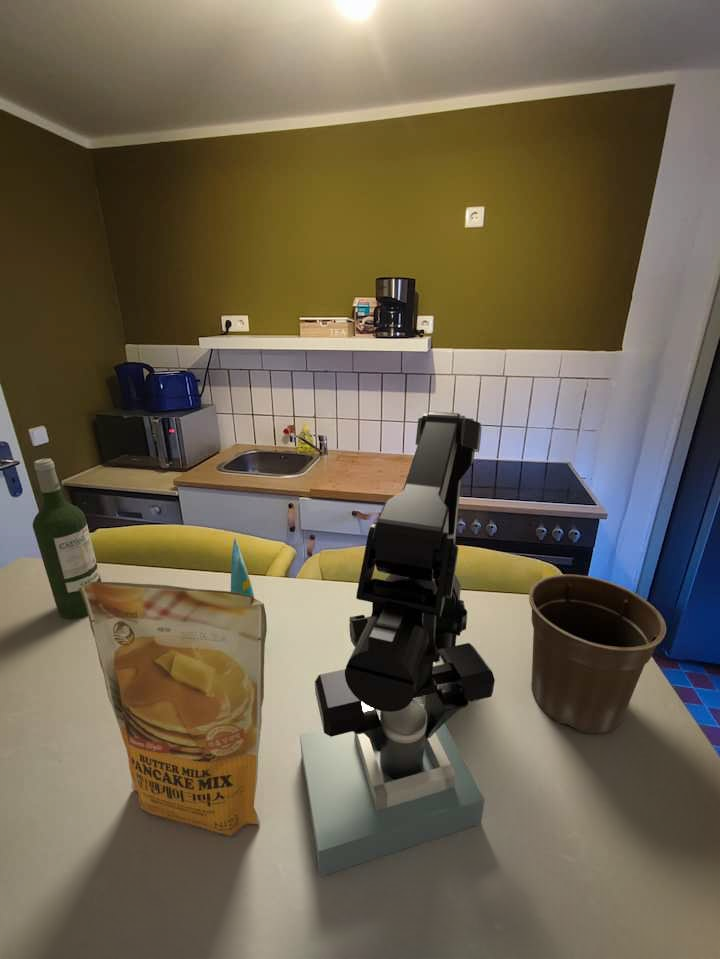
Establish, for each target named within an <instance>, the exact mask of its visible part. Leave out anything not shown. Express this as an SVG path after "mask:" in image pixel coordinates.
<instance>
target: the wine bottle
mask: <svg viewBox="0 0 720 959" xmlns="http://www.w3.org/2000/svg"><path fill="white" fill-rule="evenodd" d="M33 466H34V467H33V468H34V469H35V471H36V476H37V479H38V485H39V487H40V493H41V496H42V501H43V506H42V508H41V509H40V510H39V511H38V512H37V514H36V515H35V516H34V518H33V521H32V529H33V532H34V536H35V538H36V542H37V546H38V549H39V553H40V556H41V559H42V563H43V566H44V569H45V573H46V576H47V579H48V583H49V586H50V590H51V593H52V596H53V600H54V603H55V606H56V609H57V613H58V614H59V616H60V617H62V618H64V619H71V620H72V619H79V618H84V617H86V616H88V613H87V609H86V605H85V602H84V600H83V597H82V595H81V592H80V591H79V590H78V589H79V588H81V587H83V586H85V585H87V584H89V583H91V582H102V579H101V575H100V571H99V567H98V563H97V559H96V555H95V550H94V547H93V543H92V539H91V535H90V531H89V527H88V523H87V519H86V515H85V513H84V512H83V511H82V510H81V509H80V508H79V507H78V506H76V505H73V504H72V503H69V502H67V501H66V499H65V498H64V494H63V492H62V488H61V484H60V482H59V479H58V476H57V472H56V468H55V463H54V461H53V460H52V458H42V459H41V458H40V459H38V460H35V461H34V464H33Z"/></svg>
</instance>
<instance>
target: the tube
mask: <svg viewBox="0 0 720 959" xmlns="http://www.w3.org/2000/svg"><path fill="white" fill-rule="evenodd" d="M230 568H231V570H230V592H238V593H241V594H245V595H249V596H252V597H253V598H255V596H254V591H253V590H254V589H253V587H252V584H251V578H250V575H249V572H248V569H247V566H246V563H245V561H244V558H243V554H242V552H241V550H240V546H239V543H238V540H237V539H236V536H234V539H233V545H232V551H231V566H230Z"/></svg>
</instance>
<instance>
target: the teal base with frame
mask: <svg viewBox="0 0 720 959" xmlns="http://www.w3.org/2000/svg"><path fill="white" fill-rule="evenodd" d="M424 704H425V703H424ZM424 704H421V705H422V706H423V707H424ZM378 716H379V719H380V714H378ZM445 723H446V722H445ZM445 723H444V724H443V725H442V726H441V727H440V728H439V729H438V730H437V731H436V732H435V733H434V734H433V735H432V736H431V737H430V738H428V739H427V738H426V737H425V742H424V755H423V766H422V770H421V772H420V773H419V774H415V775H412V776H408V777H404V778H401V779H397V780H394V779H392V778H390V777H389V776H388V775H387V774H386V773H385V772H384V771H383V769H382V767H381V764H380V751H379V752H377V750H376V748H375V746H374V744H373V743H372V741H371V740H370V739H369V738H368V737H367V736H366V735H365V734H364V733H363V734H355V733H354V732H353V731H352V732H348V733H344V734H340V735H336V736H332V737H330V736H328V735H327V734H325V733H324V730H323V728H320V729H317V730H313V731H309V732H304V733H301V734H299V742H300V752H301V753H300V754H301V763H302V768H303V769H302V770H303V775H304V776H303V777H304V782H305V788H306V795H307V801H308V808H309V814H310V821H311V828H312V834H313V835H312V836H313V840H314V846H315V855H316V861H317V867H318V874H319V878H322V877H324V876H328V875H330V874H334V873H336V872H339V871H344V870H346V869H349V868H352V867H355V866H357V865H361V864H364V863H367V862H369V861H373V860H377V859H379V858H382V857H385V856H389V855H392V854H394V853H398V852H401V851H403V850H407V849H409V848H412V847H416V846H419V845H421V844H424V843H427V842H431V841H433V840H436V839H440V838H443V837H446V836H448V835H452V834H454V833H457V832H461V831H464V830H467V829H471V828H473V827H476V826H479V825H481V824H482V819H483V818H482V817H483V813H484V812H483V811H484V804H485V798H484V796H483V794H482V792H481V791H480V790H481V789H480V788H479V786H478V785H477V783H476V781H475V779H474V777H473V775H472V774H471V771H470V770H469V767H468V765H467V764H466V762H465V760H464V757H463V755H462V754H461V752H460V750H459V748H458V746H457V745H456V743H455V741H454V739H453V737H452V735H451V733H450V731H449V729H448V728H447V725H446V724H445Z"/></svg>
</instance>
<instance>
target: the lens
mask: <svg viewBox="0 0 720 959" xmlns="http://www.w3.org/2000/svg"><path fill="white" fill-rule="evenodd" d="M422 705H423V704H422V703H420V702H419V701H418V700H417V699H416V698H413V700H412V701H411V703H410V704H409V705H408V706H407V707H405V708H404V709H402V710H399V711H394V712H386V711H380V710H379V711H380V713H379V715H380V722H381V724H382V748H381V751H380V764H381V767H382V769H383V771H384V772H385V773H386V774H387V775H388V776H389V777H390V778H392V779H394V780H397V779H401V778H404V777H408V776H412V775H415V774H419V773H420V772H421V770H422V766H423V755H424V742H425V731H426V727H427V714H426V711H425V709H424V707H423V706H422Z"/></svg>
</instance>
